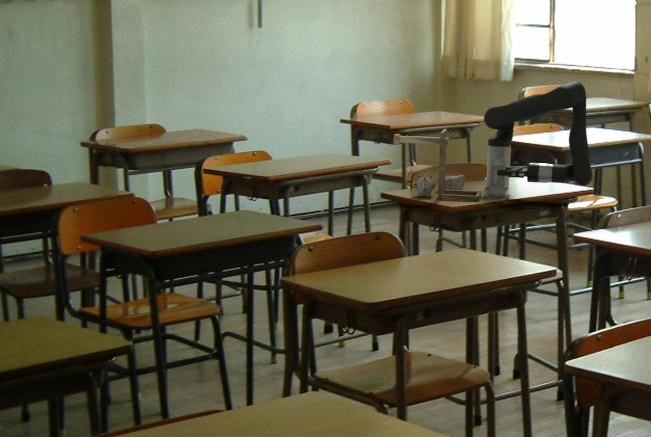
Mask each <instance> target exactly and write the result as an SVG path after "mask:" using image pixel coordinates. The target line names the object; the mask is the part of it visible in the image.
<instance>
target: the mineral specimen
mask: <svg viewBox="0 0 651 437" xmlns="http://www.w3.org/2000/svg"><path fill="white" fill-rule="evenodd" d="M464 188H465V175H463V174H458V175H455V176H454V175H447V174H445V190H463V189H464ZM437 190H438V191H439V176H438V178H437Z"/></svg>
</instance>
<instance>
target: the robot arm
mask: <svg viewBox="0 0 651 437" xmlns="http://www.w3.org/2000/svg"><path fill="white" fill-rule="evenodd" d="M569 109H572V122H571V126H570V130H569V134H568V145H569V152H570V158H571V161H572V163H571V164H553V163H552V164H551V163H543V162H541V163H540V162H528V163H527V167H526V166H518V165H517V166H513V165H511V144H512V140H513V138H514V129H515V123H517V122H526V121H533V120H535V119H538V118H541V117H544V116H546V115H547V114H549V113H551V112H556V111H564V110H569ZM483 121H484V124H485V126H486V127H487V128H489V129H491V130H497V132H495V133H494V135H493V136H490V137H489V138H488V141H487V161H486V162H487V164H486V165H487V166H486V182H485V183H486V184H485V185H486V188H489V184H490V162H491V160H492V158H494V157H500V158H504V160H505V162H506V170H497V175H498V176H505V189H509V187H510V178H514V179H515V178H517V179H518V178H520V179H524V178H525V177H526V178H527V179H526V180H527V182H528V183H538V184H539V183H543V184H547V183H549V184H550V183H555V184H558V183H559V184H560V183H561V184H563V183H566V182H576V184H577V185H579V186H583V187H584V186H585V187H586V186H588V185H589V184H591V182H592V180H593V177H594V175H593V169H592V167H591V166H592V165H591V161H590V150H589V149H590V148H589V143H588V142H589V141H588V134H587V92H586V89H585V86H584V85H583V84H582V83H581V82H579V81H576V80H575V81H570V82H568V83H564V84H563V85H560V86H558V87H556V88H554V89H552V90H550V91H547V92H546V93H537V94H532V95H529V96H525V97H522V98H520V99H517V100H514V101H513V102H510V103H507V104H503V105H499V106H491V107H490V108H488V109H487V110H486V111H485V113H484V116H483Z"/></svg>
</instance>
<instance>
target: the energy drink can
mask: <svg viewBox="0 0 651 437" xmlns="http://www.w3.org/2000/svg"><path fill="white" fill-rule="evenodd" d="M497 170H506V162H505V160H504V158H500V157H494V158H492V160H491V162H490V184H489V187H488V190H489V191H488V194H490V196H492V197H503V195H506V194H505V193H506V188H505V176H498V175H497Z"/></svg>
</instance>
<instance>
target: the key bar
mask: <svg viewBox="0 0 651 437" xmlns="http://www.w3.org/2000/svg"><path fill="white" fill-rule="evenodd" d="M449 143H450V138H449V137H447V138H445V140H444V145H446V146H447V145H449ZM400 144H417V145H418V144H420V145H421V144H423V145H440V137H439V136H438V137H437V136H436V137H435V136H413V135H402V134H400V133H394V134H393V145H400Z"/></svg>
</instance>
